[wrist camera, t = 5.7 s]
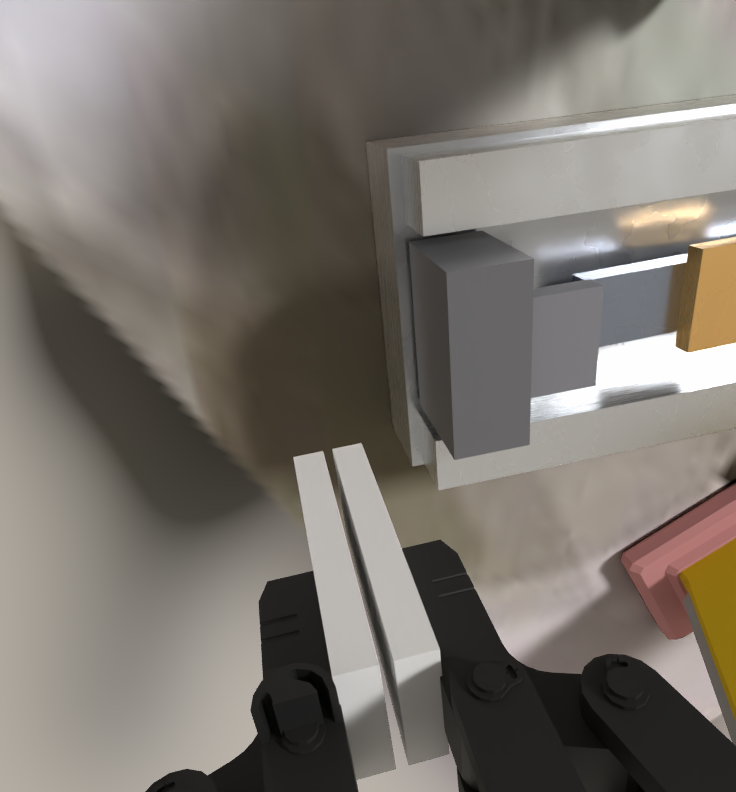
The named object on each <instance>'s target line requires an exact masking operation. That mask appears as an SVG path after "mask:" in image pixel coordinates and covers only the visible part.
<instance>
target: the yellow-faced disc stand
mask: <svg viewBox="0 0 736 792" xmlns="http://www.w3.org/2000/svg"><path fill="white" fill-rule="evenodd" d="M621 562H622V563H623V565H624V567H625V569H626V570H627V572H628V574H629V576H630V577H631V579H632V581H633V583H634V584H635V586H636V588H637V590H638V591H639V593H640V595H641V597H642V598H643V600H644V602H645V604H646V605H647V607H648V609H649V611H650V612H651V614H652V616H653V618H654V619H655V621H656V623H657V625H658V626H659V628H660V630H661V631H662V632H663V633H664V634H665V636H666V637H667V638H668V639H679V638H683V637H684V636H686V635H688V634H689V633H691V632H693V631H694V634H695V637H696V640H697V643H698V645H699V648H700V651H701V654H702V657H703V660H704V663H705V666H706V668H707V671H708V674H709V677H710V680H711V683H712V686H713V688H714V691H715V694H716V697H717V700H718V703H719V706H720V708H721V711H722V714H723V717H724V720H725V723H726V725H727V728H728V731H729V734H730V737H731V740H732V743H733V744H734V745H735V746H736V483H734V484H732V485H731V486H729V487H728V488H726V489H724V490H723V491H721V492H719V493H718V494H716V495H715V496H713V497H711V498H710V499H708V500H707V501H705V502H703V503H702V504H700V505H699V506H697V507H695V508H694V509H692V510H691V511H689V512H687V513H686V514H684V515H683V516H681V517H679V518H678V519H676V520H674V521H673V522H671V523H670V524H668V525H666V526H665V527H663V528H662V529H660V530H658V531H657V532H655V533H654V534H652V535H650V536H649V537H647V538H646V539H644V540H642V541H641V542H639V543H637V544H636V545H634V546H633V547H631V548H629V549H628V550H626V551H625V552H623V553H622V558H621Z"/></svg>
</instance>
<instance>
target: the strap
mask: <svg viewBox="0 0 736 792" xmlns="http://www.w3.org/2000/svg"><path fill="white" fill-rule="evenodd" d="M588 279H592V280H594V281H595V282H597V283H599V284H601V285H603V286H604V289H603V301H602V314H601V327H600V339H599V347H603V346H608V345H613V344H618V343H623V342H628V341H632V340H637V339H642V338H647V337H652V336H657V335H662V334H667V333H672V332H676V331H677V333H676V340H675V347H676V348H678V349H680V350H682V351H684V352H686V353H691V352H696V351H701V350H705V349H710V348H715V347H720V346H724V345H729V344H734V343H736V237H731V238H726V239H720V240H715V241H709V242H703V243H698V244H692V245H689V248H688V254H682V255H677V256H671V257H665V258H660V259H654V260H649V261H643V262H638V263H632V264H627V265H621V266H616V267H610V268H604V269H599V270H593V271H588V272H582V273H577V274H572V282H576V281H582V280H588Z"/></svg>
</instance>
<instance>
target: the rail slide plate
mask: <svg viewBox="0 0 736 792" xmlns="http://www.w3.org/2000/svg"><path fill="white" fill-rule="evenodd" d="M366 152H367V162H368V173H369V183H370V194H371V204H372V215H373V225H374V236H375V246H376V257H377V267H378V278H379V288H380V299H381V310H382V320H383V331H384V341H385V352H386V362H387V373H388V383H389V394H390V404H391V415H392V425H393V428H394V430H395V432H396V434H397V436H398V438H399V440H400V442H401V444H402V446H403V448H404V450H405V452H406V454H407V456H408V459H409V461H410V463H411V465H412V467H413V466H418V465H423V464H425V466H426V468H427V470H428V472H429V474H430V475H431V477H432V479H433V481H434V483H435V485H436V487H437V489H438V490H443V489H448V488H453V487H457V486H462V485H467V484H472V483H477V482H481V481H486V480H491V479H496V478H501V477H505V476H510V475H515V474H520V473H525V472H529V471H534V470H539V469H544V468H549V467H553V466H558V465H563V464H568V463H573V462H577V461H582V460H587V459H592V458H597V457H601V456H606V455H611V454H616V453H621V452H625V451H630V450H635V449H640V448H645V447H649V446H654V445H659V444H664V443H669V442H673V441H678V440H683V439H688V438H693V437H697V436H702V435H707V434H712V433H717V432H721V431H726V430H731V429H736V343H734V344H729V345H724V346H720V347H715V348H710V349H705V350H701V351H696V352H691V353H686V352H684V351H682V350H680V349H678V348H676V347H675V340H676V333H677V331H676V332H672V333H667V334H662V335H657V336H652V337H647V338H642V339H637V340H632V341H628V342H623V343H618V344H613V345H608V346H603V347H599V352H598V365H597V377H596V386H593V387H587V388H582V389H577V390H572V391H567V392H561V393H556V394H551V395H546V396H540V397H535V398H531V412H530V445H527V446H522V447H517V448H512V449H507V450H502V451H497V452H492V453H487V454H482V455H477V456H472V457H467V458H463V459H458V460H454V459H453V457H452V455H451V454H450V452H449V451H448V449H447V447H446V446H445V444H444V442H443V441H442V439H441V437H440V436H439V434H438V433H437V431H436V429H435V428H434V426H433V424H432V423H431V421H430V420H429V418H428V416H427V415H426V413H425V411H424V410H423V408H422V407H421V405H420V396H419V382H418V368H417V353H416V339H415V325H414V310H413V296H412V282H411V267H410V253H409V242H410V241H416V240H423V239H429V238H436V237H443V236H449V235H456V234H463V233H469V232H476V231H484V232H486V233H488V234H489V235H491V236H493V237H495V238H497V239H499V240H501V241H502V242H504V243H506V244H508V245H510V246H512V247H514V248H515V249H517V250H519V251H521V252H523V253H525V254H527V255H528V256H530V257H532V258H534V288H540V287H546V286H552V285H558V284H564V283H570V282H572V274H577V273H582V272H588V271H593V270H599V269H604V268H610V267H616V266H621V265H627V264H632V263H638V262H643V261H649V260H654V259H660V258H665V257H671V256H677V255H682V254H688V248H689V245H692V244H698V243H703V242H709V241H715V240H720V239H726V238H731V237H736V95H728V96H720V97H712V98H704V99H696V100H689V101H681V102H673V103H665V104H657V105H649V106H642V107H634V108H626V109H618V110H610V111H602V112H595V113H587V114H579V115H571V116H563V117H555V118H547V119H540V120H532V121H524V122H516V123H508V124H500V125H493V126H485V127H477V128H469V129H461V130H453V131H445V132H438V133H430V134H422V135H414V136H406V137H398V138H391V139H383V140H375V141H367V142H366Z"/></svg>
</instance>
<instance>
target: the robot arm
mask: <svg viewBox="0 0 736 792" xmlns="http://www.w3.org/2000/svg"><path fill="white" fill-rule="evenodd" d="M332 451H333V457H334V463H335V469H336V474H337V480H338V486H339V492H340V498H341V504H342V510H343V515H344V521H345V527H346V533H347V537H348V541H349V544H350V548H351V552H352V556H353V559H354V563H355V567H356V570H357V574H358V578H359V582H360V585H361V589H362V593H363V597H364V600H365V604H366V608H367V612H368V615H369V619H370V623H371V627H372V630H373V634H374V638H375V641H376V645H377V649H378V653H379V656H380V660H381V664H382V667H383V671H384V675H385V679H386V683H387V686H388V690H389V694H390V697H391V701H392V705H393V708H394V712H395V716H396V719H397V723H398V727H399V731H400V735H401V739H402V742H403V746H404V750H405V754H406V757H407V761H408V764H409V765H412V764H415V763H418V762H422V761H426V760H430V759H433V758H436V757H440V756H444V755H447V754H449V745H448V742H449V744H450V748H451V751H452V754H453V757H454V759H455V762H456V765H457V775H458V787H459V792H736V746H735V745H734V744H733V743H732V742H731V741H730V740H729V739H728V738H726V737H725V735H723V734H722V733H721V732H720V731H719V730H718V729H717V728H716V727H715V726H714V725H713V724H712V723H711V722H710V721H709V720H707V719H706V718H705V717H704V716H703V715H702V714H701V713H700V712H699V711H698V710H697V709H696V708H695V707H694V706H693V705H691V704H690V703H689V702H688V701H687V700H686V699H685V698H684V697H683V696H682V695H681V694H680V693H679V692H678V691H677V690H675V689H674V688H673V687H672V686H671V685H670V684H669V683H668V682H667V681H666V680H665V679H664V678H663V677H662V676H661V675H659V674H658V673H657V672H656V671H655V670H654V669H652V668H651V667H649V666H648V665H647V664H645V663H644V662H642V661H641V660H638V659H635V658H632V657H629V656H626V655H618V654H607V655H603V656H600V657H596V658H594V659H593V660H592V661H590V662H589V663H588V664H587V665H586V666H585V667H584V670H583V673H582V674H567V673H550V672H543V671H538V670H535V669H533V668H530V667H527V666H525V665H524V664H522V663H520V662H519V661H517V660H516V659H515V658H514V657H513V656H511V655H510V654H509V653H508V651H507V650H506V648H505V647H504V645H503V644H502V642H501V640H500V638H499V636H498V634H497V632H496V630H495V628H494V626H493V624H492V622H491V620H490V618H489V616H488V614H487V612H486V610H485V608H484V606H483V604H482V602H481V600H480V598H479V596H478V594H477V592H476V590H475V589H474V586H473V584H472V582H471V580H470V578H469V576H468V575H467V573H466V570H465V568H464V566H463V564H462V562H461V560H460V558H459V556H458V554H457V553H456V552H455V551H454V550H453V549H451V548H450V547H449V546H448V545H446V544H445V543H444V542H443V541H441V540H437V541H433V542H428V543H424V544H420V545H415V546H411V547H407V548H403V549H402V548H401V546H400V543H399V540H398V538H397V535H396V532H395V530H394V527H393V525H392V522H391V519H390V517H389V514H388V511H387V509H386V506H385V503H384V501H383V498H382V496H381V493H380V490H379V488H378V485H377V482H376V480H375V477H374V475H373V472H372V469H371V467H370V464H369V461H368V459H367V456H366V454H365V451H364V448H363V446H362V443H359V444H354V445H349V446H344V447H339V448H335V449H332ZM293 459H294V464H295V470H296V476H297V481H298V487H299V492H300V498H301V504H302V509H303V515H304V521H305V526H306V532H307V538H308V543H309V549H310V555H311V560H312V566H313V571H311V572H306V573H302V574H298V575H294V576H290V577H285V578H280V579H276V580H272V581H268V582H267V584H266V586H265V589H264V591H263V593H262V595H261V598H260V600H259V615H260V626H261V627H260V632H261V642H262V644H261V650H262V667H263V681H262V682H261V683H260V685H259V686H258V688H257V690H256V692H255V693H254V695H253V699H252V705H251V713H252V717H253V720H254V723H255V726H256V729H257V732H258V734H257V736H256V737H255V739H254V741H253V742H252V743H251V744H250V745H249V746H248V748H247V749H246V750H245V751H244V752H243V753H241V754H240V755H239V756H237V757H236V758H235V759H233V760H232V761H230V762H229V763H227V764H226V765H224V766H222V767H221V768H219V769H217V770H216V771H214V772H213V773H211V774H209V775H208V776H207V775H206V774H204V773H203V772H201V771H196V770H190V769H185V770H181V771H176V772H172V773H169V774H167V775H166V776H164V777H163V778H161V779H159V780H158V781H156V782H154V783H153V784H152V785H151V786H150V787H149V788H148V790H147V791H146V792H358V787H357V782H356V780H358V779H362V778H365V777H369V776H372V775H376V774H379V773H383V772H387V771H390V770H394V769H396V766H395V760H394V754H393V748H392V741H391V735H390V729H389V724H388V723H389V722H388V717H387V710H386V703H385V697H384V691H383V684H382V678H381V672H380V666H379V662H378V658H377V654H376V650H375V646H374V642H373V639H372V635H371V632H370V627H369V624H368V620H367V616H366V612H365V608H364V605H363V601H362V597H361V593H360V589H359V586H358V582H357V578H356V574H355V570H354V567H353V563H352V559H351V555H350V551H349V548H348V544H347V540H346V536H345V532H344V529H343V525H342V521H341V517H340V513H339V510H338V506H337V502H336V498H335V494H334V491H333V487H332V483H331V479H330V476H329V472H328V468H327V464H326V460H325V457H324V453H323V451H320V452H315V453H311V454H306V455H301V456H296V457H293Z"/></svg>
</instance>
